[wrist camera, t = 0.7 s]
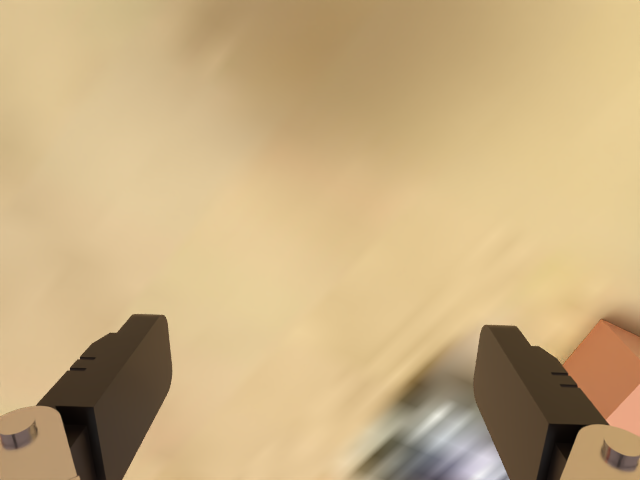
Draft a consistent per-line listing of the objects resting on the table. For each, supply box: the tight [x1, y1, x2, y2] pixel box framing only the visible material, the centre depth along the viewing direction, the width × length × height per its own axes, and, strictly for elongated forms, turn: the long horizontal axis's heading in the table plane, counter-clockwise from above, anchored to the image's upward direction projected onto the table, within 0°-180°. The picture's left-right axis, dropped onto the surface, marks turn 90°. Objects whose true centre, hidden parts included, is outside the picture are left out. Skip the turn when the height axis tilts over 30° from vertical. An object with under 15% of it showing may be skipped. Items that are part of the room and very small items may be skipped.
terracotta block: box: [562, 319, 640, 437], centre depth 30 cm, size 6×6×6 cm
